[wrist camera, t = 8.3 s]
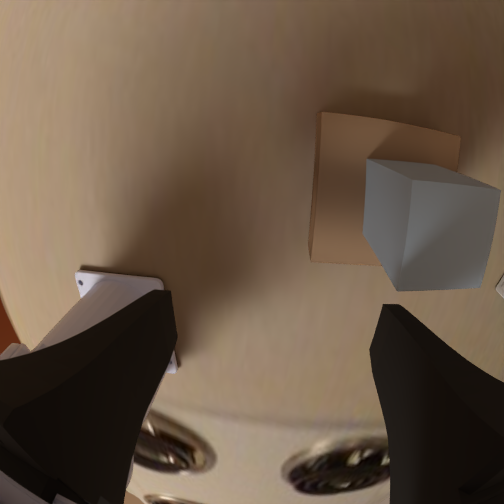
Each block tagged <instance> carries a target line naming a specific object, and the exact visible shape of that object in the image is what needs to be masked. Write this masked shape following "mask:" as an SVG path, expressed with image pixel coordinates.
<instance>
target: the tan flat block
mask: <svg viewBox="0 0 504 504" xmlns="http://www.w3.org/2000/svg"><path fill="white" fill-rule="evenodd" d="M460 141H461V137H460V136H457V135H453V134H449V133H445V132H441V131H437V130H433V129H429V128H424V127H420V126H415V125H410V124H405V123H400V122H394V121H389V120H383V119H376V118H370V117H363V116H356V115H348V114H339V113H330V112H320V113H317V119H316V143H315V161H314V178H313V192H312V206H311V218H310V229H309V240H308V247H309V253H310V260H311V262H319V263H336V264H354V265H372V266H382V265H381V263H380V261H379V260H378V258H377V256H376V255H375V253H374V251H373V250H372V248H371V246H370V245H369V243H368V242H367V240H366V238H365V237H364V235H363V234H362V233H363V221H364V207H365V189H366V162H367V159H380V160H393V161H405V162H415V163H425V164H434V165H437V166H440V167H443V168H446V169H449V170H452V171H454V172H457V169H458V161H459V151H460Z"/></svg>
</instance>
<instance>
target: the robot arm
mask: <svg viewBox="0 0 504 504" xmlns="http://www.w3.org/2000/svg"><path fill="white" fill-rule="evenodd" d="M75 278H76V282H77V285H78V289H79V293H80V296H81V299H80V300H79V301H78V302H77V303H76V304H75V305H74V306H73V307H72V308H71V310H70V311H69V312H68V313H67V314H66V315H65V316H64V317H63V318H62V319H61V320H60V321H59V322H58V323H57V324H56V325H55V327H54V328H53V329H52V330H51V331H50V332H49V333H48V334H47V335H46V336H45V337H44V339H43V340H42V341H41V342H40V343H39V344H38V345H37V346H36V348H34V349H33V350H31V351H30V350H29V349H28V347H27V346H26V345H25V344H23V343H22V344H20V345H19V344H15V343H12V344H11V345H10V346H9V347H8V348H7V349H6V350H5V351H4V352H3V353H2V354H1V355H0V504H124V497H125V491H126V488H127V486H128V484H129V482H130V480H131V476H132V472H133V453H134V450H135V446H136V442H137V439H138V435H139V432H140V429H141V426H142V424H143V422H144V421H145V419H146V417H147V415H148V412H149V410H150V408H151V405H152V403H153V401H154V398H155V396H156V394H157V392H158V389H159V387H160V385H161V382H162V380H163V378H164V376H165V373H166V372H167V373H173V374H174V373H176V372H177V370H178V367H177V362H176V357H175V352H174V347H175V344H176V341H177V331H176V324H175V318H174V311H173V305H172V297H171V291H167V290H164V286H163V282H162V281H161V280H160V279H158V278H151V277H141V276H132V275H122V274H113V273H104V272H95V271H86V270H78V271H77V272H76V273H75ZM81 281H82V282H83V283H82V282H81ZM369 350H370V358H371V366H372V373H373V377H374V381H375V385H376V389H377V393H378V396H379V400H380V404H381V408H382V412H383V416H384V420H385V424H386V430H387V435H388V445H389V457H390V504H504V383H503V382H502V381H500V380H498V379H496V378H494V377H492V376H491V375H489V374H488V373H486V372H484V371H483V370H481V369H480V368H478V367H477V366H475V365H474V364H472V363H471V362H469V361H468V360H467V359H465V358H464V357H462V356H461V355H460V354H459V353H457V352H456V351H455V350H453V349H452V348H451V347H450V346H448V345H447V344H446V343H445V342H444V341H442V340H441V339H440V338H439V337H438V336H436V335H435V334H434V333H433V332H432V331H431V330H429V329H428V328H427V327H426V326H425V325H424V324H423V323H421V322H420V321H419V320H418V319H417V318H416V317H415V316H413V315H412V314H411V313H410V312H409V311H407V310H406V309H405V308H404V307H402V306H401V305H399V304H383V306H382V310H381V313H380V317H379V320H378V324H377V327H376V330H375V334H374V337H373V340H372V343H371V346H370V349H369ZM170 360H171V361H170Z"/></svg>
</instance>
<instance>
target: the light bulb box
mask: <svg viewBox="0 0 504 504" xmlns="http://www.w3.org/2000/svg"><path fill="white" fill-rule="evenodd" d="M496 291H497V292H498V293H499V294H500V295H501V296H502V297H503V298H504V275H503V277H502V278H501V280H500V282H499V283H498V285H497V286H496Z"/></svg>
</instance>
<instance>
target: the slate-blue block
mask: <svg viewBox="0 0 504 504" xmlns="http://www.w3.org/2000/svg"><path fill="white" fill-rule="evenodd" d="M500 193H501V190H499V189H497V188H495V187H492V186H490V185H488V184H485V183H483V182H480V181H478V180H475V179H473V178H470V177H468V176H465V175H462V174H460V173H457V172H454V171H452V170H449V169H446V168H443V167H440V166H437V165H434V164H425V163H415V162H405V161H393V160H380V159H367V162H366V189H365V207H364V221H363V233H362V234H363V235H364V237H365V238H366V240H367V242H368V243H369V245H370V246H371V248H372V250H373V251H374V253H375V255H376V256H377V258H378V260H379V261H380V263H381V265H382V266H383V268H384V270H385V271H386V273H387V275H388V276H389V278H390V280H391V282H392V283H393V285H394V287H395V289H396V291H425V290H448V289H467V288H480V286H481V283H482V280H483V276H484V273H485V269H486V265H487V261H488V257H489V253H490V249H491V244H492V240H493V235H494V230H495V225H496V219H497V213H498V207H499V200H500Z"/></svg>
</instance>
